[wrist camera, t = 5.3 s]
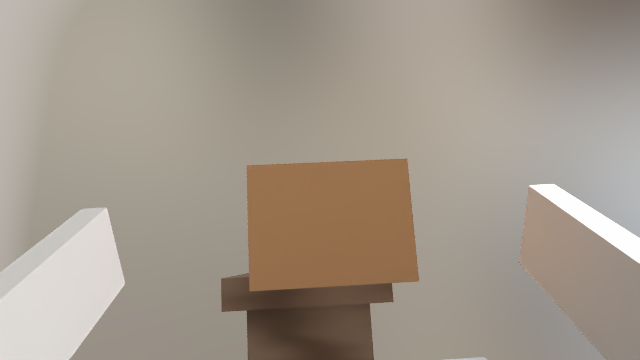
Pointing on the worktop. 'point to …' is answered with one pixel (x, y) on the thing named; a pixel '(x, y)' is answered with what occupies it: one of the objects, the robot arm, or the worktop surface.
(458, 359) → the slate block
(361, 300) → the walnut shelf stand
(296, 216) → the orange blank
